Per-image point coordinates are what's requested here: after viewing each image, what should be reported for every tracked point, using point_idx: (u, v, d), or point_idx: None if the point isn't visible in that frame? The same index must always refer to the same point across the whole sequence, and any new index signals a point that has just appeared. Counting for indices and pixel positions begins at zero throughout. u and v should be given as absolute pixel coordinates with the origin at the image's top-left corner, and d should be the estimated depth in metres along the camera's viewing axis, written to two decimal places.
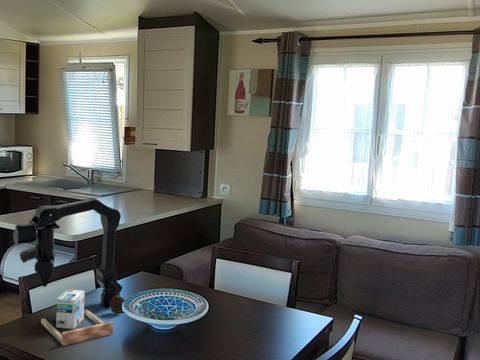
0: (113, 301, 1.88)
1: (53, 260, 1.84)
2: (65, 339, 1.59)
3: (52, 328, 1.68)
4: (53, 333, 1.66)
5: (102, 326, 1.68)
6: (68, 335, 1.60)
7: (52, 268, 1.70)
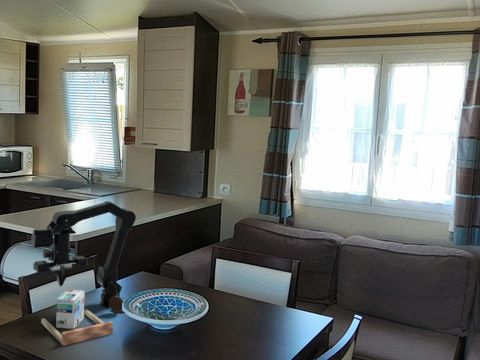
0: (111, 301, 1.87)
1: (65, 270, 1.82)
2: (65, 339, 1.59)
3: (52, 328, 1.68)
4: (53, 333, 1.66)
5: (102, 326, 1.68)
6: (68, 335, 1.60)
7: (38, 271, 1.75)
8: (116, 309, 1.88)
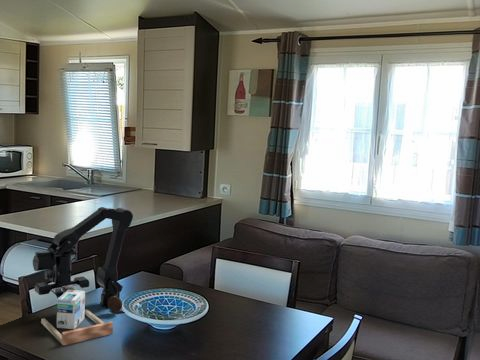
0: (110, 301, 1.87)
1: None
2: (65, 339, 1.59)
3: (52, 328, 1.68)
4: (53, 333, 1.66)
5: (102, 326, 1.68)
6: (68, 335, 1.60)
7: (39, 293, 1.75)
8: (114, 309, 1.87)
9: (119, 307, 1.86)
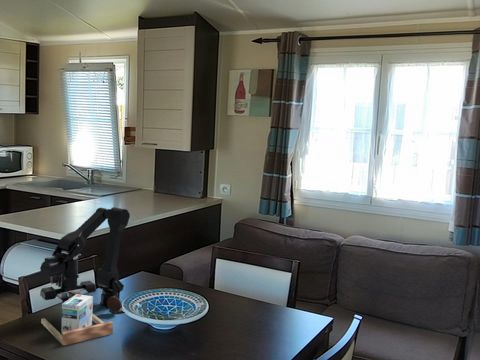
0: (109, 301, 1.87)
1: None
2: (65, 339, 1.59)
3: (52, 328, 1.68)
4: (53, 333, 1.66)
5: (102, 326, 1.68)
6: (68, 335, 1.60)
7: (45, 298, 1.70)
8: (114, 309, 1.87)
9: (118, 307, 1.86)
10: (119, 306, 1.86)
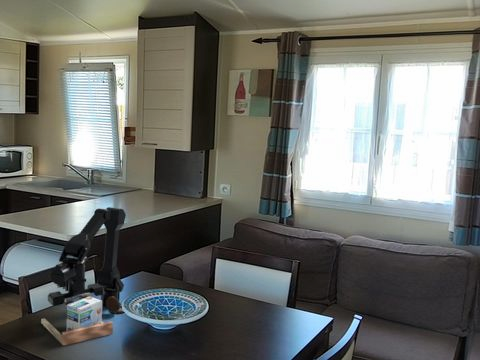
0: (108, 301, 1.87)
1: None
2: (65, 339, 1.59)
3: (52, 328, 1.68)
4: (53, 333, 1.66)
5: (102, 326, 1.68)
6: (68, 335, 1.60)
7: (53, 304, 1.67)
8: (113, 310, 1.87)
9: (117, 307, 1.86)
10: (118, 306, 1.86)
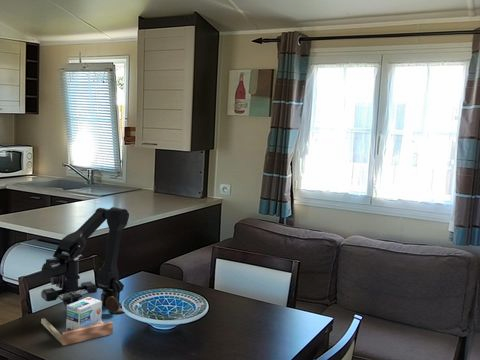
0: (108, 301, 1.87)
1: (74, 298, 1.76)
2: (65, 339, 1.59)
3: (52, 328, 1.68)
4: (53, 333, 1.66)
5: (102, 326, 1.68)
6: (68, 335, 1.60)
7: (47, 299, 1.69)
8: (112, 310, 1.87)
9: (116, 308, 1.86)
10: (117, 306, 1.86)
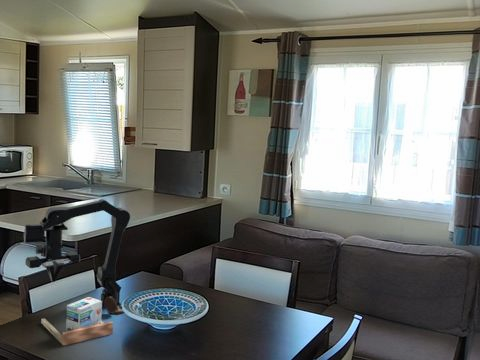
0: (106, 301, 1.87)
1: (57, 266, 1.82)
2: (65, 339, 1.59)
3: (52, 328, 1.68)
4: (53, 333, 1.66)
5: (102, 326, 1.68)
6: (68, 335, 1.60)
7: (30, 266, 1.76)
8: (110, 310, 1.86)
9: (114, 308, 1.85)
10: (114, 307, 1.85)
